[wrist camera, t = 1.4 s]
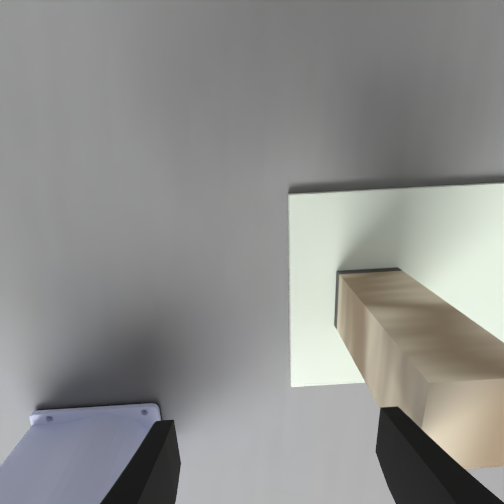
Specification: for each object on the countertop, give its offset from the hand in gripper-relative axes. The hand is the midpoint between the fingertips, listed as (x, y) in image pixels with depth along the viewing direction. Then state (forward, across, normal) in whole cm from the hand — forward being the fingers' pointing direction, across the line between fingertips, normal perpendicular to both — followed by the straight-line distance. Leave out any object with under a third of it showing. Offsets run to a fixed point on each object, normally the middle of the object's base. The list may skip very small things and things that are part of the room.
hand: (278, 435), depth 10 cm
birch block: (+10, -7, 0) cm, 12 cm away
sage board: (+10, -10, 0) cm, 14 cm away
